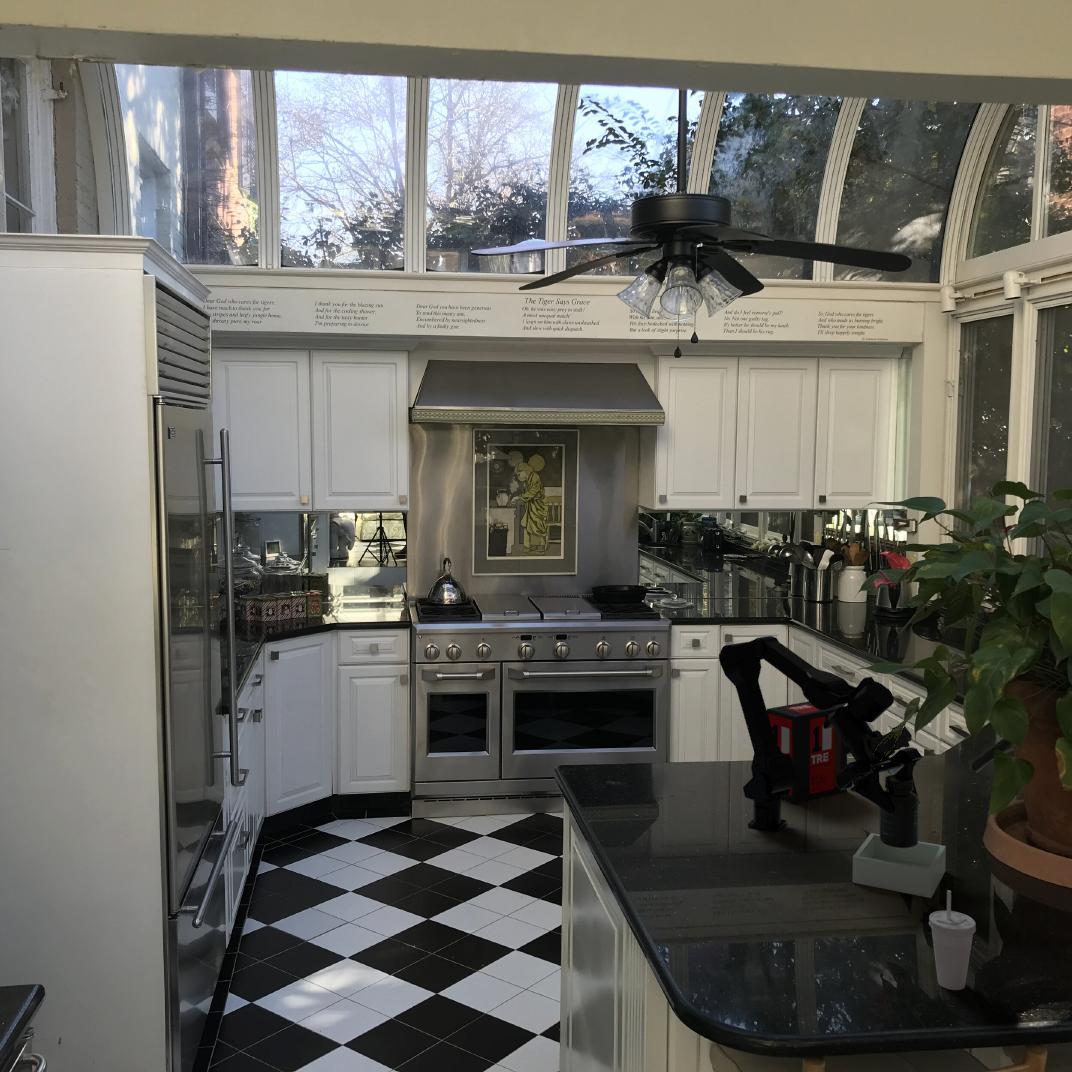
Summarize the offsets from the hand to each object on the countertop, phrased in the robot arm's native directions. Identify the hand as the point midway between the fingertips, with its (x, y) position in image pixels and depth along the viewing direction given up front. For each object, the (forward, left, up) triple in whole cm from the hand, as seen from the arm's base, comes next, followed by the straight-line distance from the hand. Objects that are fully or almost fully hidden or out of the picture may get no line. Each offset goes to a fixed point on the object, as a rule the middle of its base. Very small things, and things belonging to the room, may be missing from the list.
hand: (905, 808), depth 185 cm
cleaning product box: (-40, -30, -13) cm, 52 cm away
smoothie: (+35, +14, -13) cm, 40 cm away
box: (-1, -1, -13) cm, 13 cm away
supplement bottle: (-1, -1, -7) cm, 7 cm away
